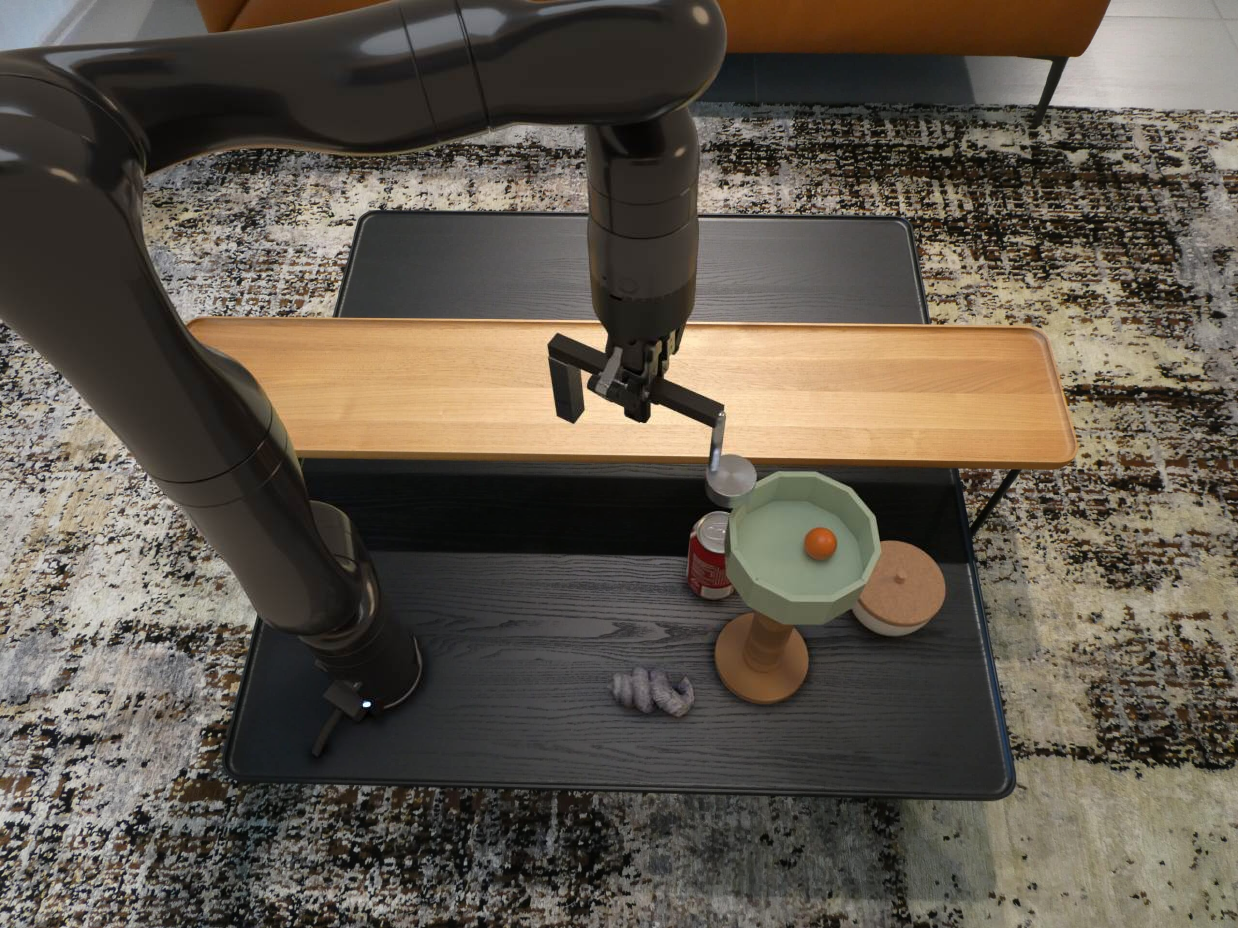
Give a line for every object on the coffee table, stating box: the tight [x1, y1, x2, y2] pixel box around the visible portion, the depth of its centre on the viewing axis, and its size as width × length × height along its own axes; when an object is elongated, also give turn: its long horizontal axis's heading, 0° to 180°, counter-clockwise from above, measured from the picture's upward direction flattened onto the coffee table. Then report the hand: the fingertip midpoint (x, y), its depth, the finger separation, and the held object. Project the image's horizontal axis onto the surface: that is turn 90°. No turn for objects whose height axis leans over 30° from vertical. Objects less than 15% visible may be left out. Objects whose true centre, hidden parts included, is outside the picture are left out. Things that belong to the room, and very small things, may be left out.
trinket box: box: [850, 540, 946, 637], centre depth 100 cm, size 11×11×9 cm
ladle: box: [546, 332, 758, 509], centre depth 73 cm, size 20×4×10 cm, turn 60°
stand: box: [714, 610, 810, 705], centre depth 90 cm, size 11×11×26 cm
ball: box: [804, 527, 837, 560], centre depth 78 cm, size 3×3×3 cm
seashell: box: [607, 664, 695, 718], centre depth 96 cm, size 5×5×10 cm
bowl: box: [724, 470, 882, 626], centre depth 77 cm, size 13×13×5 cm
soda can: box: [685, 510, 737, 601], centre depth 102 cm, size 7×7×12 cm
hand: (643, 407), depth 72 cm, fingers closed on ladle
